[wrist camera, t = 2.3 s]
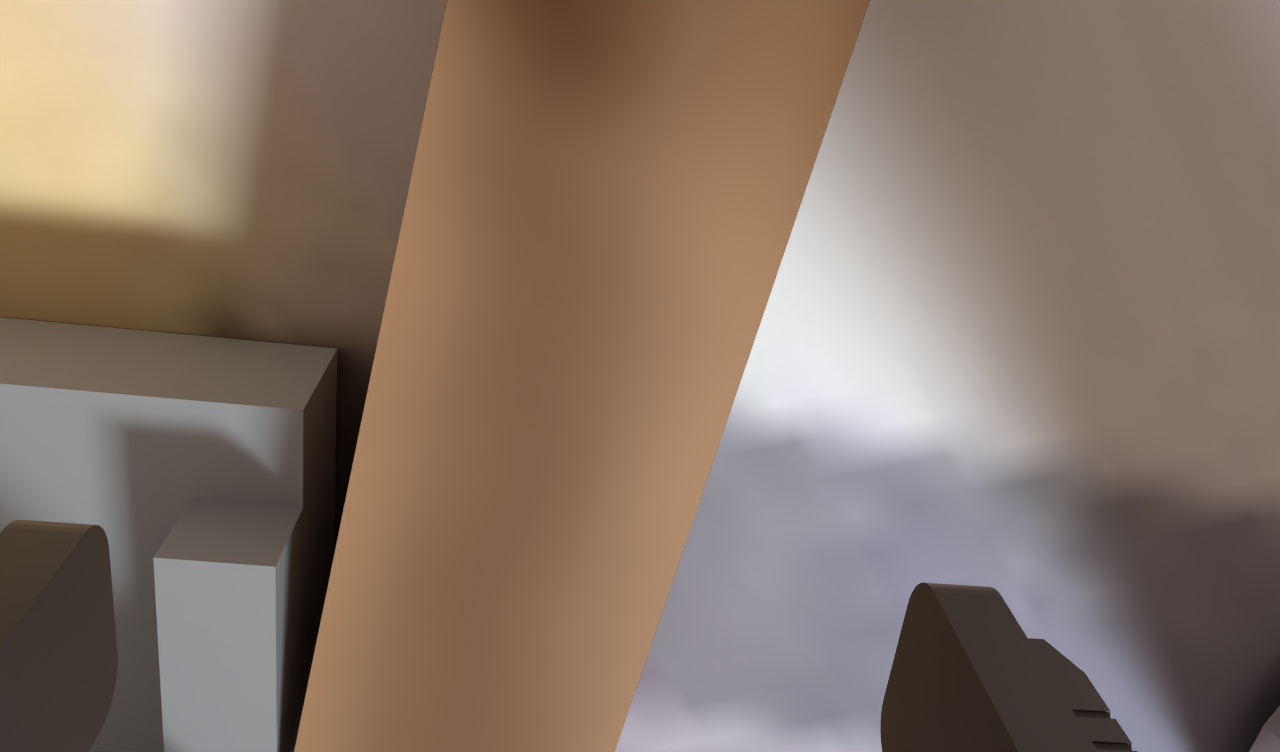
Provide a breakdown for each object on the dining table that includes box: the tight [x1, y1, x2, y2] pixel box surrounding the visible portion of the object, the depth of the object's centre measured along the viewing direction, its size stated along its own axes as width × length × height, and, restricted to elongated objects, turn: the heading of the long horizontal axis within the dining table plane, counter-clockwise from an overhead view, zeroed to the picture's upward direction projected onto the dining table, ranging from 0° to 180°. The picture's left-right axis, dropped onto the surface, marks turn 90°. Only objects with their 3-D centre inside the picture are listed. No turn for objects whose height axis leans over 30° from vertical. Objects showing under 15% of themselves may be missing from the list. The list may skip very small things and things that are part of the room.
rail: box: [294, 0, 870, 752], centre depth 20 cm, size 6×20×6 cm, turn 164°
